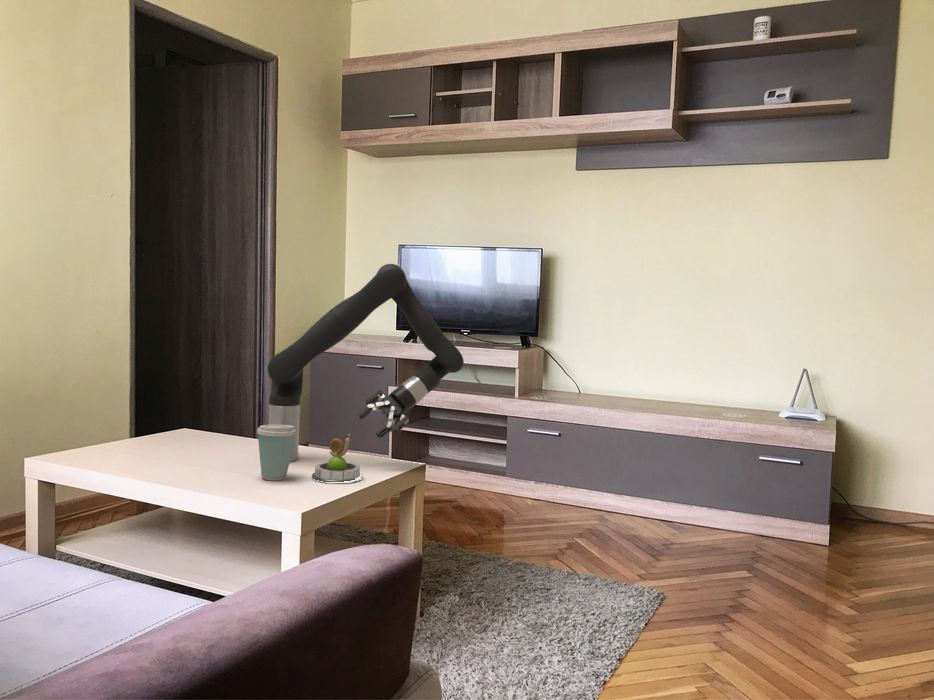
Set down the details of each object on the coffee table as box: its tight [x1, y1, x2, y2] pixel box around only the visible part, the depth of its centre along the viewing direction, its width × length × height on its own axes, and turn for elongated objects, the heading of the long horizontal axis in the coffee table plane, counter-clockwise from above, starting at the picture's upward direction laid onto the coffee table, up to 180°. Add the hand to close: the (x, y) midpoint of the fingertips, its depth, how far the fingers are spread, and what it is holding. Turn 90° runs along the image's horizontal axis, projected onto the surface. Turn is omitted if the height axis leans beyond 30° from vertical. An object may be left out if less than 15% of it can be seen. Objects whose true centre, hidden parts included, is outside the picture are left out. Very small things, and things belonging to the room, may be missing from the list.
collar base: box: [311, 461, 361, 482], centre depth 212 cm, size 14×14×3 cm
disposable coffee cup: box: [256, 424, 296, 481], centre depth 207 cm, size 11×11×15 cm
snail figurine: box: [327, 433, 352, 471], centre depth 211 cm, size 5×6×12 cm
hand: (368, 426), depth 224 cm, fingers open, 8 cm apart
